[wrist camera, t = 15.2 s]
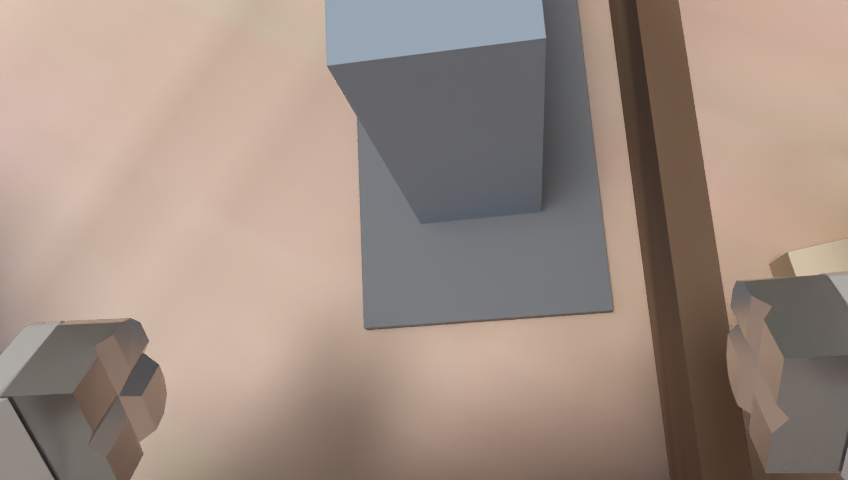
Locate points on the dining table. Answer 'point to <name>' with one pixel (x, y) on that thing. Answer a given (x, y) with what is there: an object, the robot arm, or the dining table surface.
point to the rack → (677, 245)
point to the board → (448, 98)
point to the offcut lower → (813, 260)
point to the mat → (496, 224)
